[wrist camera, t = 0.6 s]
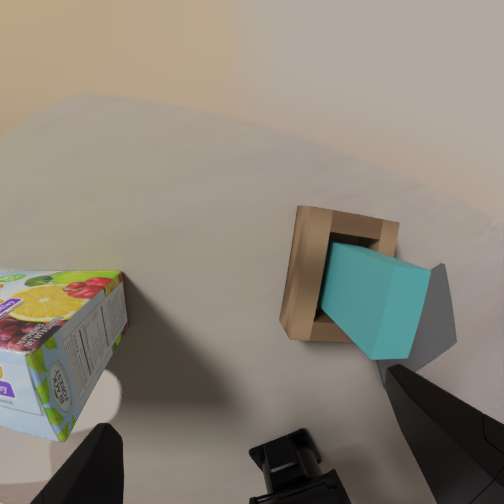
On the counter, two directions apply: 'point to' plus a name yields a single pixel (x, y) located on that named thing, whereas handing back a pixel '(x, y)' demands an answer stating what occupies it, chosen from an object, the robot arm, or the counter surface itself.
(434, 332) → the rubber mat
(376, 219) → the slot box
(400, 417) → the robot arm
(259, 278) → the counter surface
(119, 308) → the snack box
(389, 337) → the teal block
